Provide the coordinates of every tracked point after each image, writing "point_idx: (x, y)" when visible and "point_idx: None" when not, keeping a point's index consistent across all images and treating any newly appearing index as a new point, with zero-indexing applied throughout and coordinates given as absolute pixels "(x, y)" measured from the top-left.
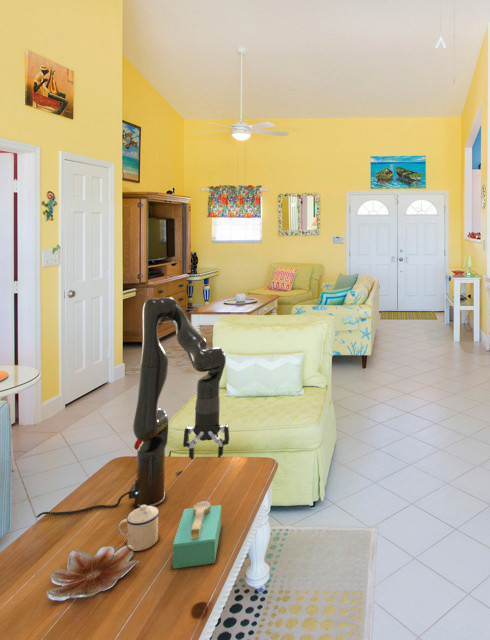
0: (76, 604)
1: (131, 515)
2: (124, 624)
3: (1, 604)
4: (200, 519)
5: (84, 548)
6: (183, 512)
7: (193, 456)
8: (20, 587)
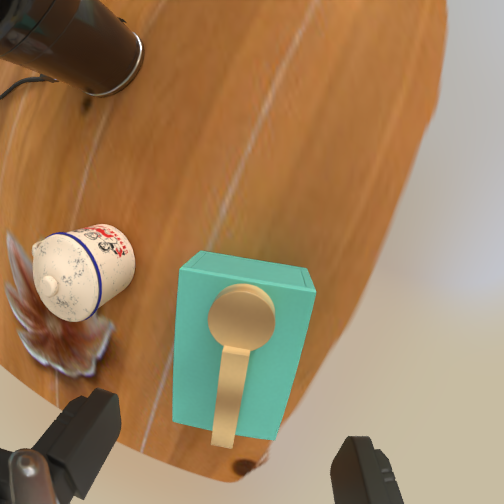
0: (63, 383)
1: (37, 283)
2: (141, 447)
3: None
4: (234, 417)
5: (18, 234)
6: (178, 291)
7: (112, 433)
8: None
